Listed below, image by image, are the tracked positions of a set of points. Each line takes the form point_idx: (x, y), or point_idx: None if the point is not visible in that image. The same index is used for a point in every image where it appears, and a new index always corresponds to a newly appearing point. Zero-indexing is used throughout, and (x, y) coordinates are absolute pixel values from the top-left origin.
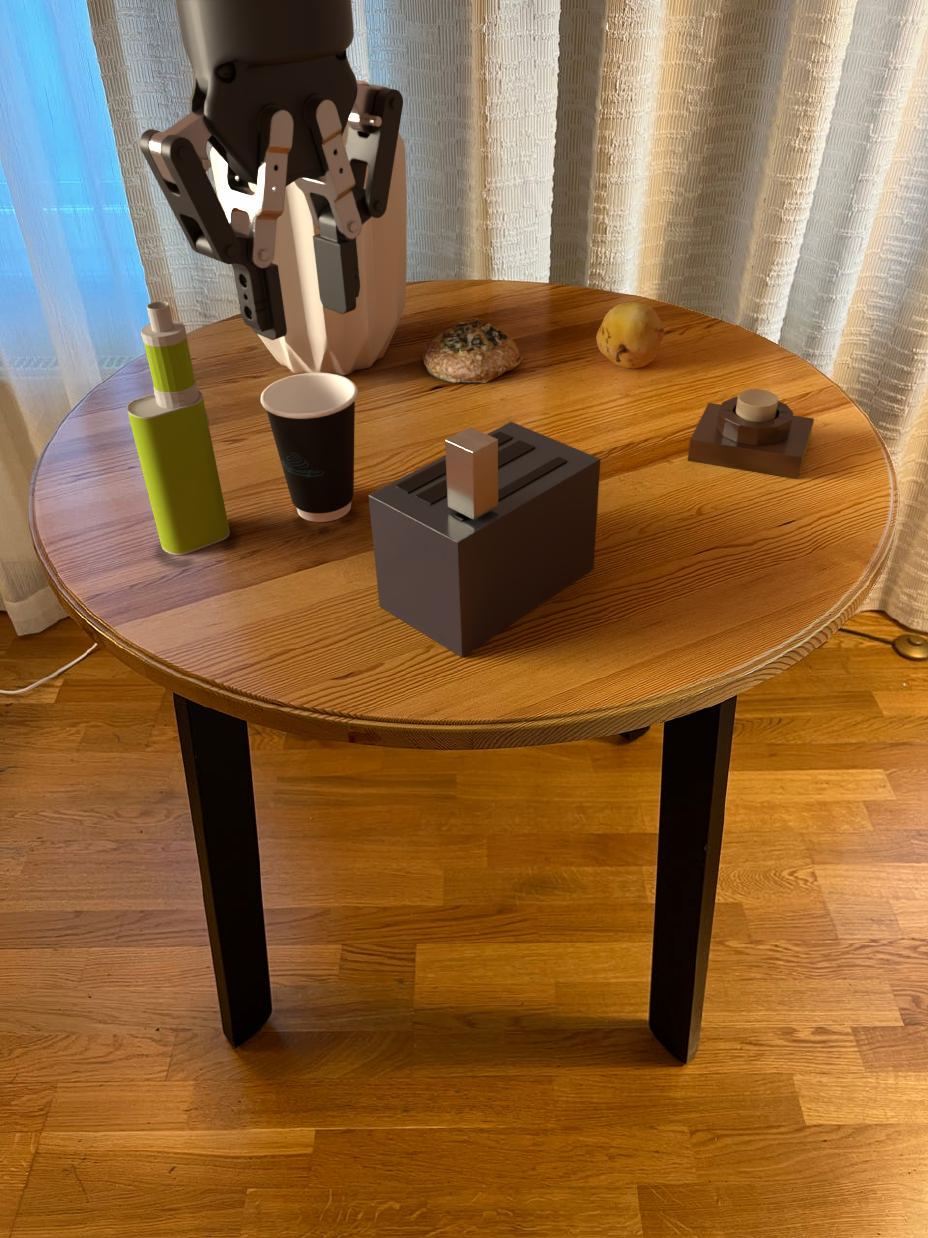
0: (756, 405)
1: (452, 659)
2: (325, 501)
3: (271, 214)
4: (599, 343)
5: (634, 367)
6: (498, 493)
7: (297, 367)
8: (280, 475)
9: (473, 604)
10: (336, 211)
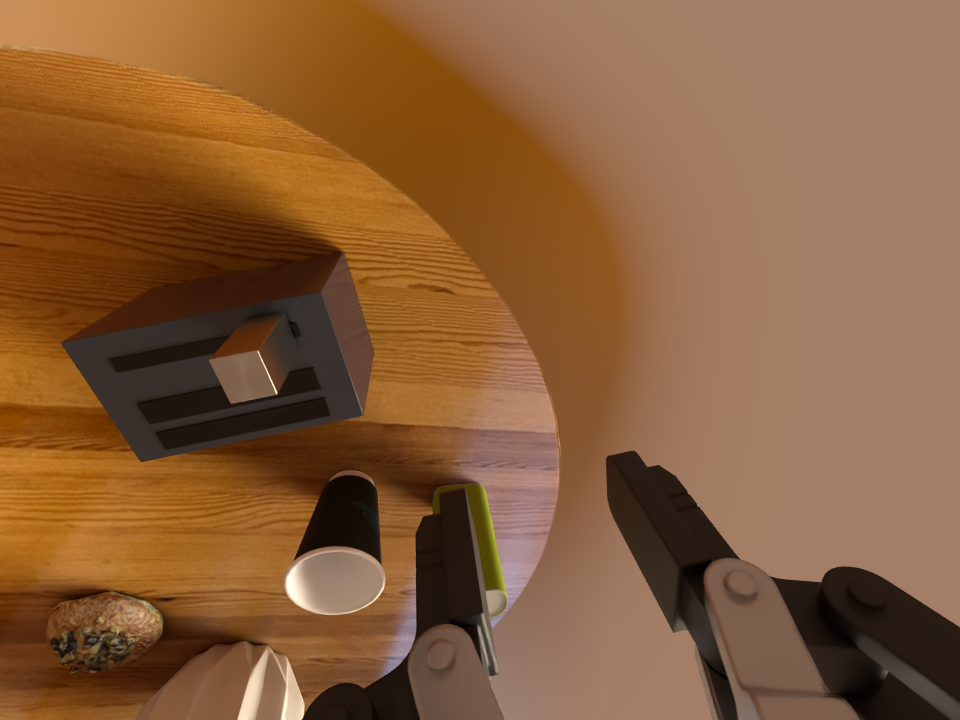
0: None
1: (352, 255)
2: (356, 483)
3: (794, 694)
4: None
5: None
6: None
7: (282, 659)
8: None
9: (317, 268)
10: (498, 708)
